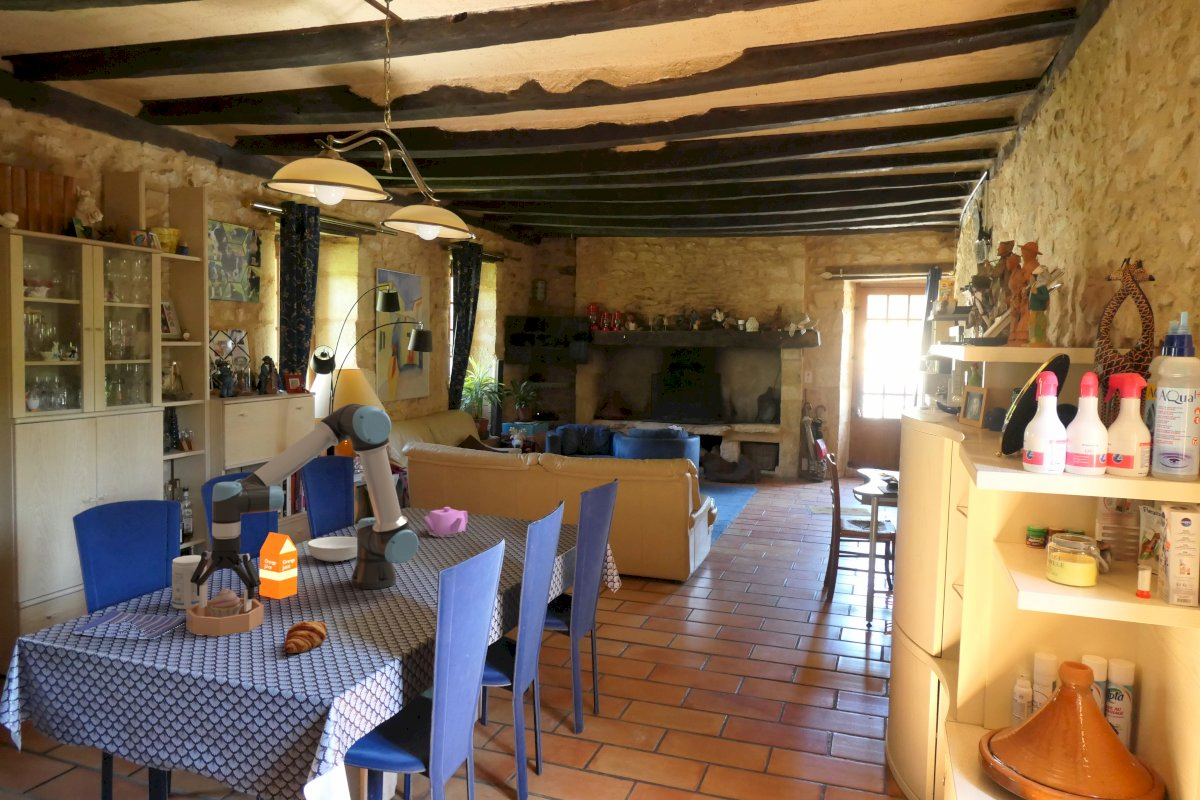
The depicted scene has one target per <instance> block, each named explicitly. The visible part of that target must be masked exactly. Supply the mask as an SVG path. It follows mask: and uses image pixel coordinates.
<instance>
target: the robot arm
mask: <svg viewBox="0 0 1200 800" xmlns="http://www.w3.org/2000/svg"><path fill="white" fill-rule="evenodd" d="M391 432H392V421H391V419H390V417H389V415H388V414H387V412H386V411H385V410H383V409H381V408H379V407H377V406H376V405H375V406H374V405H366V404H365V405H364V404H360V403H349V404H345V405H343V406H341V407H339V408H337V409H335V411H332V412H331V413H330V414H328V415H327V416H326V417H324V418H323V419H321V420H320V421H318V423H317V427H315V428H314V429H312V430H311V431H310V432H309V433H307V434H306V435H304V436H303V437H302V438H300V439H299V440H298V441H296V442H295V443H293V444H292V445H290V446H289V447H287V448H286V449H285V450H283V451H282V452H281V453H279V454H278V455H277V456H275V457H273V458H271V460H269V461H268V462H267V463H265V464H264V465H263V466H261V467H260V468H258V469H257V470H256V471H253V473H251V474H249V475H248V476H247V477H245V478H240V479H236V480H234V481H221V482H217V483H215V484H214V485H213V488H212V497H211V500H212V510H211V511H212V522H211V523H212V525H211V536H212V538H211V549H212V551H210V550H205V551H202V552H201V554H200V556H201V560H200V562H199V564H198V566H197V568H196V570H195V572H194V574H193V576H192V578H191V580H190V582H191V583H195V584H196V585H197V596H199V608H204V607H205V606H207V601H208V583H207V584H204V583H205V581H206V580H207V581H208V579H209V578H210V577H211V576H212V575H213V573H215V572H216V570H217V569H226V570H230V569H231V570H232V571H233V572H234V573H235V574H236V575H237V577H238V578H239V579H240V580H241V581H242V583H243V584H244V586H245V587H246V588H244V589H243V594H244V595H243V598H244V612H247V611H248V610H250V609H251V601H252V599H255V598H254V597H255V588H257V587H260V585H261V581H260V575H258V572H257V570H256V568H255V566H254V564H253V561H252V555H251V553H250V552H247V553H241V546H242V545H241V543H242V541H241V536H240V535H241V534H242V533H241V530H242V529H241V528H242V527H241V525H242V515H247V514H256V513H258V514H259V513H267V512H269V513H270V512H276V511H279V510H281V509H282V508H283V507H284V502H285V494H284V490H283V488H282V487H281V486H279V484H282V482H284V481H285V480H286V479H288V478H289V477H291V476H292V475H293V474H294V473H296V472H297V471H299V470H300V469H302V467H304V466H306V465H307V464H308V463H310V462H311V461H312V460H314V459H316V457H318V456H319V455H321V454H322V453H323V452H325V451H326V450H328V449H329V448H330V447H332V446H334V447H336V446H339V444H342V443H343V442H345V441H348V440H350V443H351V447H352V451H353V452H354V453H357V454H358V455H359V459H360V463H361V467H362V471H363V475H364V479H365V483H366V488H367V491H368V497H369V499H370V504H371V507H372V512H373V517H365V518H361V519H360V520H358V523H357V526H356V527H357V529H356V531H357V533H356V536H357V537H356V538H357V556H356V563H355V565H354V568H353V571H352V574H351V577H350V585H351V586H352V587H354V588H357V589H364V590H376V589H377V590H378V589H384V588H389V586H390V587H392V586H394V585H396V584H397V575H396V571H395V568H394V566H393V565H394V564H397V565H401V564H406V563H408V562H410V561H411V560H412V559H413V558H414V557H415V555H416V553H417V552H418V549H419V541H420V540H419V538H418V535H417V534H416V533H415V532H414V531H413V530H411V529H410V525H409V519H408V517H406V516H405V515H402V510H401V506H400V502H399V498H398V493H397V489H396V485H395V481H394V477H393V474H392V473H393V472H392V469H391V464H390V459H389V455H388V451H387V447H388V445H389V444H390V439H389V436H390V433H391ZM210 559H211V560H212V561H213V562H212V563H211V564H210V565H209V567H208V568H207V571H206V572H205V573H204V574H203V575H202V576H201V574H202V573H203V571H204V569H205V567H207V565H208V563H209V560H210ZM240 560H241V562H242V563H241V562H240ZM243 566H244V567H243ZM200 576H201V578H200Z"/></svg>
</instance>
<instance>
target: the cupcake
mask: <svg viewBox="0 0 1200 800" xmlns="http://www.w3.org/2000/svg"><path fill="white" fill-rule="evenodd" d="M239 598H240V597H238V596H237V593H236V592H234V591H233V590H231V589H229V588H228V587H225V588H223V589H221V590H219V591H218V593H217V594H216V595H215V596H214V597H213V598H211V600H212V604H210V606H207V607H208V609H209V611H210V613H211V617H217V618H222V617H228V616H234V615H238V614H239V611H240V609H241V607H242V605H243V604H241V602H240V599H239Z"/></svg>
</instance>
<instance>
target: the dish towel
mask: <svg viewBox="0 0 1200 800" xmlns="http://www.w3.org/2000/svg"><path fill="white" fill-rule="evenodd" d="M124 620H125V621H124ZM130 621H133V623H135V624H134V625H136V626H137V627H138V626H139V627H138V628H136V630H134V631H139V630H143V629H144V630H145V629H146V630H145V631H143V632H144V634H145V633H147V632H149V631H150V632H151V630H155V631H152V632H151V633H147V634H145V635H143V636H141V637H147V638H154V637H157V636H159V635H161V634H163V633H165V632H167V631H169V630H171V629H173V628H175V627H177V626H179V625H181V624H183V623H185V622H186V615H185V616H181V615H180V616H175V617H174V616H165V615H156V614H141V613H131V612H130V613H129V612H126V611H125V612H124V611H122V610H121V611H120V610H116V609H112V610H111V611H109V612H107V613H106V614H104V615H102V616H100V617H98V618H96V619H94V620H93V621H90V622H88V623H85V624H83V625H81V626H79V627H77V628H76V629H74V631H86V630H88V629H90V628H92V627H95V626H98V625H100V624H104V623H107V622H108V623H109V622H110V623H111V624H113V623H115V624H116V623H118V624H119V623H122V622H130ZM185 624H186V623H185ZM130 625H132V626H133V624H129V626H130ZM141 625H142V626H141ZM183 625H184V624H183ZM136 626H134V627H136ZM181 626H182V625H181ZM122 628H124V627H122ZM130 629H131V630H132V629H135V628H130ZM127 630H128V631H130V630H129V629H127ZM127 630H123V631H118V632H119V633H120V634H121V632H122V633H123V632H124V631H127ZM111 633H113V632H111ZM115 633H117V632H115ZM142 634H143V633H142ZM126 635H127V634H126ZM130 635H131V634H130ZM137 635H138V634H137ZM139 635H140V634H139Z"/></svg>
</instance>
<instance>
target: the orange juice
mask: <svg viewBox="0 0 1200 800" xmlns="http://www.w3.org/2000/svg"><path fill="white" fill-rule="evenodd" d="M259 579H260V581H261V585H259V595H260V596H263V597H268V598H272V599H276V600H280V599H283V598H287V597H290V596H294V595H297V594H298V587H297V586H298V549H297V548H296V546H295V544H294V543H293V541H292V539H291V538H290V535H287V534H282V533H278V532H270V531H269V532H268V535H267V537H266V538H265V541H264V543H263V544H262V546H261V549H260V550H259Z"/></svg>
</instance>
